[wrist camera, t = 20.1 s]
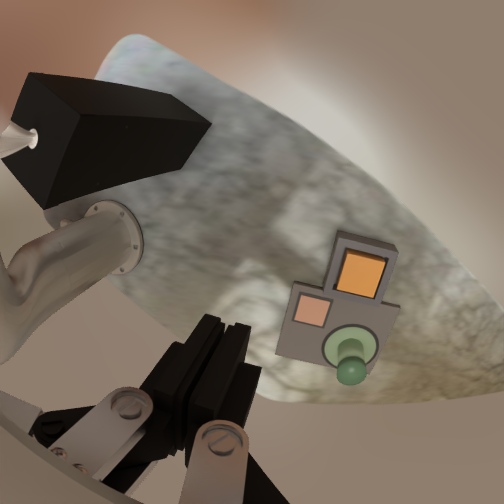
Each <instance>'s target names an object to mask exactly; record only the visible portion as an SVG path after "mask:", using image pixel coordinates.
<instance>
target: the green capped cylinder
mask: <svg viewBox="0 0 504 504" xmlns="http://www.w3.org/2000/svg"><path fill="white" fill-rule="evenodd" d="M366 375H367V370H366V363H365V358H364V349H363V344H362V343H361V342H360V341H359V340H357V339H354V338H349V339H346V340H343V341H342V342H341V343H340V344H339V346H338V365H337V379H338V381H339V382H340V383H342V384H344V385H356V384H359V383H361V382H362V381H363V380H364V379H365V378H366Z"/></svg>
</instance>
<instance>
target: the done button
mask: <svg viewBox="0 0 504 504" xmlns="http://www.w3.org/2000/svg"><path fill="white" fill-rule="evenodd" d="M384 265H385V261H384V259H383V256H379V255H375V254H371V253H367V252H363V251H359V250H355V249H351V248H347V247H346V250H345V254H344V257H343V261H342V264H341V268H340V271H339V274H338V278H337V281H336V284H337V289H338V290H342V291H346V292H350V293H355V294H359V295H363V296H368V297H372V298H373V296H374V294H375V291H376V288H377V286H378V283H379V280H380V277H381V274H382V271H383V268H384Z"/></svg>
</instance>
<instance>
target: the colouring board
mask: <svg viewBox="0 0 504 504" xmlns="http://www.w3.org/2000/svg"><path fill="white" fill-rule="evenodd" d="M400 309H401V308H400V306H399V305H394V304H390V303H386V302H381V304H380V306H379V307H374V306H370V305H366V304H361V303H357V302H353V301H348V300H344V299H340V298H335V297H331V296H327V295H323V288H321V287H317V286H313V285H309V284H305V283H301V282H297V281H294V285H293V289H292V293H291V297H290V301H289V304H288V308H287V312H286V316H285V320H284V323H283V327H282V331H281V334H280V338H279V342H278V345H277V349H276V353H275V355H279V356H283V357H288V358H292V359H296V360H300V361H305V362H309V363H313V364H318V365H323V366H327V367H332V368H337V365H338V346H339V344H340V343H341V342H342V341H343V340H346V339H349V338H354V339H357V340H359V341H360V342H361V343H362V344H363V349H364V358H365V363H366V370H367V374H370V372H371V370H372V369H373V367H374V365H375V363H376V361H377V359H378V357H379V355H380V353H381V351H382V348H383V346H384V344H385V342H386V340H387V338H388V336H389V334H390V331H391V329H392V327H393V325H394V322H395V320H396V318H397V316H398V313H399V311H400Z"/></svg>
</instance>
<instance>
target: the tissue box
mask: <svg viewBox="0 0 504 504" xmlns="http://www.w3.org/2000/svg"><path fill="white" fill-rule="evenodd" d="M211 124H212V123H210V122H209V121H208V120H206V119H205V118H204V117H202V116H201V115H199V114H198V113H197V112H195V111H194V110H192V109H191V108H189V107H188V106H187V105H185V104H184V103H182V102H181V101H179V100H178V99H176V98H175V97H173V96H172V95H170V94H166V93H162V92H157V91H153V90H148V89H143V88H138V87H133V86H128V85H123V84H117V83H111V82H105V81H99V80H92V79H85V78H78V77H69V76H60V75H50V74H43V73H33V72H30V73H28V76H27V78H26V80H25V83H24V85H23V88H22V90H21V93H20V95H19V98H18V100H17V103H16V106H15V109H14V111H13V114H12V117H11V120H10V123H9V126H8V128H7V129H6V130H5V131H4V132H3V133H2V134H1V136H0V159H1V160H2V161H3V163H4V164H5V165H6V166H7V168H8V169H9V170H10V171H11V172H12V174H13V175H14V176H15V177H16V179H17V180H18V181H19V182H20V183H21V185H22V186H23V187H24V188H25V189H26V190H27V192H28V193H29V194H30V195H31V196H32V197H33V198H34V200H35V201H36V202H37V203H38V204H39V205H40V207H41V208H42V209H43V210H46V209H49V208H51V207H54V206H57V205H59V204H60V203H63V202H66V201H69V200H72V199H75V198H78V197H81V196H84V195H88V194H91V193H94V192H97V191H101V190H104V189H107V188H111V187H114V186H118V185H121V184H125V183H128V182H132V181H136V180H139V179H143V178H147V177H151V176H155V175H159V174H163V173H167V172H171V171H175V170H179V169H181V168H182V166H183V165H184V163H185V162H186V160H187V159H188V157H189V156H190V154H191V153H192V151H193V150H194V148H195V147H196V146H197V144H198V143H199V141H200V140H201V138H202V137H203V135H204V134H205V133H206V131H207V130H208V128H209V127H210V126H211Z"/></svg>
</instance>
